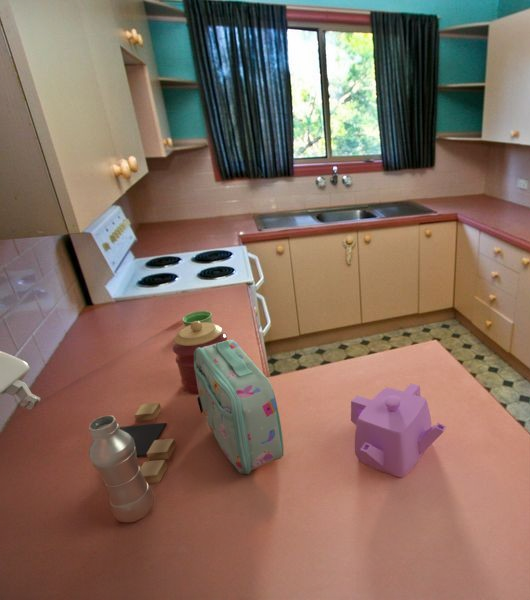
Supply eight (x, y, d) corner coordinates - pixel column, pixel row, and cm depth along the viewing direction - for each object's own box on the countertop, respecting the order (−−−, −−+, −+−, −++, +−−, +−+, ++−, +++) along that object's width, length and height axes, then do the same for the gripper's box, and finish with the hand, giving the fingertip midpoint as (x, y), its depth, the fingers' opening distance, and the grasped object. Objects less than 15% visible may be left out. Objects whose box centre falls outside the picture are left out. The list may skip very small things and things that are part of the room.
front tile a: (137, 484, 82) (134, 477, 81) (146, 469, 85) (144, 461, 84) (159, 482, 82) (156, 474, 81) (167, 467, 86) (165, 459, 85)
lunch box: (199, 420, 99) (177, 339, 90) (242, 401, 105) (226, 324, 96) (243, 490, 80) (220, 395, 71) (293, 462, 86) (278, 372, 77)
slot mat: (97, 461, 88) (96, 459, 88) (121, 428, 97) (120, 426, 97) (148, 456, 89) (147, 454, 88) (166, 424, 98) (166, 422, 98)
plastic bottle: (150, 490, 80) (119, 404, 72) (162, 512, 76) (130, 422, 68) (111, 511, 76) (73, 422, 68) (121, 535, 72) (82, 443, 64)
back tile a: (136, 421, 99) (134, 414, 98) (144, 411, 102) (142, 404, 102) (154, 420, 99) (152, 413, 98) (161, 409, 103) (159, 402, 102)
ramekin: (219, 327, 143) (216, 315, 141) (192, 337, 137) (189, 325, 135) (206, 319, 148) (204, 308, 147) (180, 329, 142) (177, 317, 140)
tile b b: (149, 461, 87) (146, 453, 86) (156, 447, 91) (154, 440, 90) (169, 459, 88) (166, 451, 87) (176, 445, 91) (174, 438, 90)
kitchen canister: (171, 391, 110) (153, 330, 102) (205, 364, 121) (191, 308, 114) (214, 398, 106) (199, 336, 99) (245, 370, 118) (233, 313, 111)
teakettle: (418, 414, 98) (417, 369, 93) (448, 467, 83) (450, 416, 78) (346, 432, 94) (341, 385, 89) (364, 491, 79) (360, 438, 74)
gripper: (-35, 353, 72) (48, 396, 76) (-169, 437, 53) (-48, 486, 58) (-17, 328, 70) (66, 373, 75) (-149, 404, 52) (-27, 458, 56)
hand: (16, 423), depth 66 cm, fingers open, 8 cm apart
